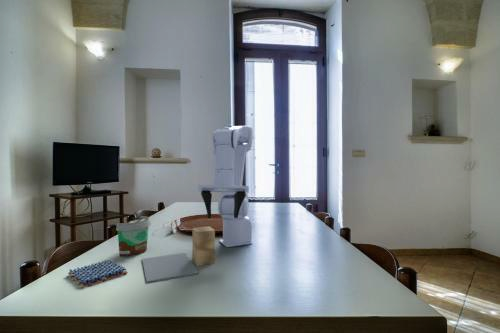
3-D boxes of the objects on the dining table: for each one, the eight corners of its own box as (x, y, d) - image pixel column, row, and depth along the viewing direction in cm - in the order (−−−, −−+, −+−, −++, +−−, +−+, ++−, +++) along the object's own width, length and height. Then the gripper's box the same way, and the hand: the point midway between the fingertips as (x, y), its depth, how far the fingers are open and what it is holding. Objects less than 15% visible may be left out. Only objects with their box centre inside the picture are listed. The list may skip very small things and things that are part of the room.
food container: (134, 259, 75) (134, 224, 75) (115, 258, 76) (115, 223, 76) (158, 246, 87) (158, 216, 87) (141, 245, 88) (141, 215, 88)
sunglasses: (173, 235, 102) (171, 223, 102) (151, 239, 102) (149, 226, 102) (181, 227, 116) (180, 215, 116) (162, 230, 116) (161, 219, 116)
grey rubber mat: (184, 254, 80) (184, 252, 80) (198, 273, 65) (198, 272, 65) (142, 260, 75) (142, 258, 75) (146, 283, 60) (146, 281, 60)
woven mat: (110, 265, 72) (110, 257, 72) (129, 276, 65) (129, 267, 65) (65, 277, 64) (65, 269, 64) (81, 291, 57) (81, 282, 57)
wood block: (209, 256, 77) (209, 226, 77) (214, 262, 73) (214, 230, 73) (192, 259, 75) (192, 228, 75) (196, 265, 71) (196, 232, 71)
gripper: (200, 167, 70) (198, 219, 69) (252, 170, 75) (251, 219, 73) (197, 170, 77) (195, 217, 76) (245, 172, 81) (244, 216, 80)
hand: (222, 218), depth 75 cm, fingers open, 7 cm apart
